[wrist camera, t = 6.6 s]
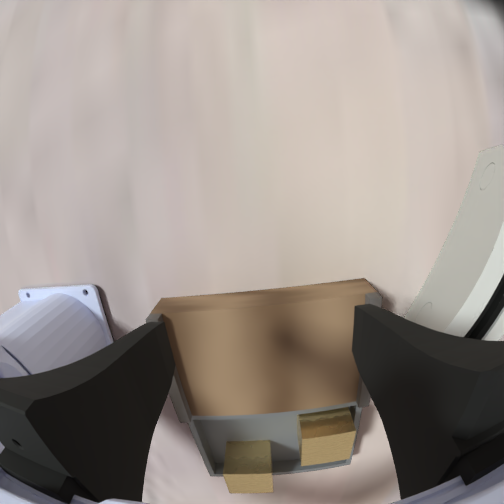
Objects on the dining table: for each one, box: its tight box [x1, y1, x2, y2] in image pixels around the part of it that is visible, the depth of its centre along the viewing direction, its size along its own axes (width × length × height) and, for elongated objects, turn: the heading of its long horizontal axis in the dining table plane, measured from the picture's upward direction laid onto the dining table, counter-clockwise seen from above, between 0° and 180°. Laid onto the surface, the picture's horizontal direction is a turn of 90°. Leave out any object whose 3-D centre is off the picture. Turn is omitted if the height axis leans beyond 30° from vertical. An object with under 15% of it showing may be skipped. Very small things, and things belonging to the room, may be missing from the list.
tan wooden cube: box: [297, 407, 356, 466], centre depth 20 cm, size 4×4×4 cm
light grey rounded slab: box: [404, 144, 504, 341], centre depth 14 cm, size 17×5×10 cm, turn 155°
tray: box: [188, 401, 362, 477], centre depth 22 cm, size 14×10×2 cm
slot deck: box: [146, 278, 382, 423], centre depth 19 cm, size 14×9×3 cm, turn 96°
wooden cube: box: [223, 440, 273, 493], centre depth 21 cm, size 4×4×4 cm
